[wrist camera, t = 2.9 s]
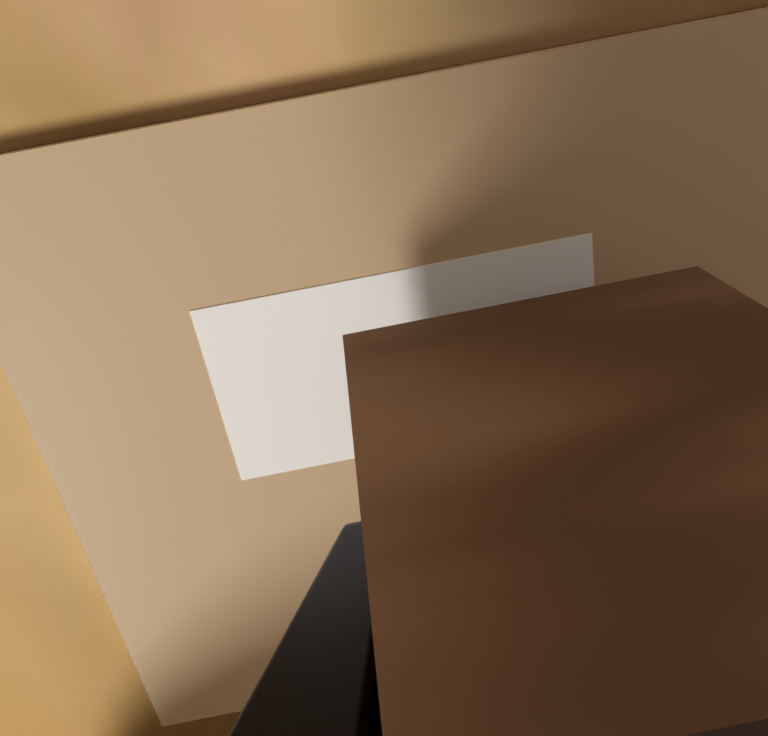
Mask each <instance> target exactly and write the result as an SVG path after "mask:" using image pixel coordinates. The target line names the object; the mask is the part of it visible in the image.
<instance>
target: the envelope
mask: <svg viewBox="0 0 768 736" xmlns="http://www.w3.org/2000/svg"><path fill="white" fill-rule="evenodd" d="M695 266H698V267H700V268H702V269H703V270H705V271H707V272H708V273H710V274H712V275H713V276H715V277H717V278H718V279H720V280H721V281H723V282H725V283H726V284H728V285H730V286H731V287H733V288H735V289H736V290H738V291H740V292H741V293H743V294H745V295H746V296H748V297H750V298H751V299H753V300H755V301H756V302H758V303H760V304H761V305H763V306H765V307H766V308H768V7H764V8H759V9H754V10H748V11H743V12H738V13H733V14H728V15H722V16H717V17H712V18H707V19H701V20H696V21H691V22H686V23H680V24H675V25H670V26H665V27H660V28H654V29H649V30H644V31H639V32H633V33H628V34H623V35H618V36H612V37H607V38H602V39H597V40H592V41H586V42H581V43H576V44H571V45H565V46H560V47H555V48H550V49H544V50H539V51H534V52H529V53H524V54H518V55H513V56H508V57H503V58H497V59H492V60H487V61H482V62H476V63H471V64H466V65H461V66H456V67H450V68H445V69H440V70H435V71H429V72H424V73H419V74H414V75H408V76H403V77H398V78H393V79H388V80H382V81H377V82H372V83H367V84H361V85H356V86H351V87H346V88H340V89H335V90H330V91H325V92H320V93H314V94H309V95H304V96H299V97H293V98H288V99H283V100H278V101H272V102H267V103H262V104H257V105H252V106H246V107H241V108H236V109H231V110H225V111H220V112H215V113H210V114H204V115H199V116H194V117H189V118H184V119H178V120H173V121H168V122H163V123H157V124H152V125H147V126H142V127H137V128H131V129H126V130H121V131H116V132H110V133H105V134H100V135H95V136H89V137H84V138H79V139H74V140H69V141H63V142H58V143H53V144H48V145H42V146H37V147H32V148H27V149H21V150H16V151H11V152H6V153H1V154H0V363H1V365H2V367H3V370H4V372H5V374H6V377H7V379H8V381H9V383H10V386H11V388H12V390H13V392H14V395H15V397H16V399H17V401H18V404H19V406H20V408H21V410H22V413H23V415H24V417H25V419H26V422H27V424H28V426H29V428H30V431H31V433H32V435H33V437H34V440H35V442H36V444H37V446H38V449H39V451H40V453H41V455H42V458H43V460H44V462H45V464H46V467H47V469H48V471H49V473H50V476H51V478H52V480H53V482H54V485H55V487H56V489H57V492H58V494H59V496H60V498H61V501H62V503H63V505H64V507H65V510H66V512H67V514H68V516H69V519H70V521H71V523H72V525H73V528H74V530H75V532H76V534H77V537H78V539H79V541H80V543H81V546H82V548H83V550H84V552H85V555H86V557H87V559H88V561H89V564H90V566H91V568H92V570H93V573H94V575H95V577H96V579H97V582H98V584H99V586H100V588H101V591H102V593H103V595H104V597H105V600H106V602H107V604H108V607H109V609H110V611H111V613H112V616H113V618H114V620H115V622H116V625H117V627H118V629H119V631H120V634H121V636H122V638H123V640H124V643H125V645H126V647H127V649H128V652H129V654H130V656H131V658H132V661H133V663H134V665H135V667H136V670H137V672H138V674H139V676H140V679H141V681H142V683H143V685H144V688H145V690H146V692H147V694H148V697H149V699H150V701H151V703H152V706H153V708H154V710H155V712H156V715H157V717H158V719H159V722H160V724H161V726H162V727H164V726H169V725H174V724H179V723H184V722H189V721H194V720H199V719H204V718H209V717H214V716H219V715H224V714H229V713H234V712H239V711H242V709H243V708H244V706H245V704H246V702H247V700H248V699H249V697H250V695H251V693H252V691H253V689H254V688H255V686H256V684H257V682H258V680H259V679H260V677H261V675H262V673H263V671H264V669H265V668H266V666H267V664H268V662H269V660H270V659H271V657H272V655H273V653H274V651H275V650H276V648H277V646H278V644H279V642H280V640H281V639H282V637H283V635H284V633H285V631H286V630H287V628H288V626H289V624H290V622H291V620H292V619H293V617H294V615H295V613H296V611H297V610H298V608H299V606H300V604H301V602H302V600H303V599H304V597H305V595H306V593H307V591H308V590H309V588H310V586H311V584H312V582H313V580H314V579H315V577H316V575H317V573H318V571H319V570H320V568H321V566H322V564H323V562H324V560H325V559H326V557H327V555H328V553H329V551H330V550H331V548H332V546H333V544H334V542H335V540H336V539H337V537H338V535H339V533H340V531H341V530H342V528H343V527H344V526H345V525H346V524H348V523H353V522H358V521H361V515H360V505H359V495H358V485H357V475H356V465H355V455H354V445H353V435H352V425H351V415H350V405H349V395H348V385H347V375H346V365H345V355H344V345H343V335H345V334H350V333H355V332H360V331H366V330H371V329H376V328H381V327H386V326H391V325H396V324H402V323H407V322H412V321H417V320H422V319H427V318H433V317H438V316H443V315H448V314H453V313H458V312H463V311H469V310H474V309H479V308H484V307H489V306H494V305H499V304H505V303H510V302H515V301H520V300H525V299H530V298H535V297H541V296H546V295H551V294H556V293H561V292H566V291H571V290H577V289H582V288H587V287H592V286H597V285H602V284H608V283H613V282H618V281H623V280H628V279H633V278H638V277H644V276H649V275H654V274H659V273H664V272H669V271H674V270H680V269H685V268H690V267H695Z"/></svg>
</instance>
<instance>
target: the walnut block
mask: <svg viewBox="0 0 768 736" xmlns="http://www.w3.org/2000/svg"><path fill="white" fill-rule="evenodd" d="M343 345H344V355H345V365H346V375H347V385H348V395H349V405H350V415H351V425H352V435H353V445H354V455H355V465H356V475H357V485H358V495H359V505H360V515H361V525H362V535H363V545H364V555H365V565H366V575H367V585H368V595H369V605H370V615H371V625H372V635H373V645H374V655H375V665H376V675H377V685H378V695H379V705H380V715H381V725H382V735H383V736H768V308H766V307H765V306H763V305H761V304H760V303H758V302H756V301H755V300H753V299H751V298H750V297H748V296H746V295H745V294H743V293H741V292H740V291H738V290H736V289H735V288H733V287H731V286H730V285H728V284H726V283H725V282H723V281H721V280H720V279H718V278H717V277H715V276H713V275H712V274H710V273H708V272H707V271H705V270H703V269H702V268H700V267H698V266H695V267H690V268H685V269H680V270H674V271H669V272H664V273H659V274H654V275H649V276H644V277H638V278H633V279H628V280H623V281H618V282H613V283H608V284H602V285H597V286H592V287H587V288H582V289H577V290H571V291H566V292H561V293H556V294H551V295H546V296H541V297H535V298H530V299H525V300H520V301H515V302H510V303H505V304H499V305H494V306H489V307H484V308H479V309H474V310H469V311H463V312H458V313H453V314H448V315H443V316H438V317H433V318H427V319H422V320H417V321H412V322H407V323H402V324H396V325H391V326H386V327H381V328H376V329H371V330H366V331H360V332H355V333H350V334H345V335H343Z"/></svg>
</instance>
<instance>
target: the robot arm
mask: <svg viewBox="0 0 768 736" xmlns="http://www.w3.org/2000/svg"><path fill="white" fill-rule="evenodd" d="M228 736H383V735H382V725H381V715H380V705H379V695H378V685H377V675H376V665H375V655H374V645H373V635H372V625H371V615H370V605H369V595H368V585H367V575H366V565H365V555H364V545H363V535H362V525H361V521H358V522H353V523H348V524H346V525H345V526H344V527H343V528H342V530H341V531H340V533H339V535H338V537H337V539H336V540H335V542H334V544H333V546H332V548H331V550H330V551H329V553H328V555H327V557H326V559H325V560H324V562H323V564H322V566H321V568H320V570H319V571H318V573H317V575H316V577H315V579H314V580H313V582H312V584H311V586H310V588H309V590H308V591H307V593H306V595H305V597H304V599H303V600H302V602H301V604H300V606H299V608H298V610H297V611H296V613H295V615H294V617H293V619H292V620H291V622H290V624H289V626H288V628H287V630H286V631H285V633H284V635H283V637H282V639H281V640H280V642H279V644H278V646H277V648H276V650H275V651H274V653H273V655H272V657H271V659H270V660H269V662H268V664H267V666H266V668H265V669H264V671H263V673H262V675H261V677H260V679H259V680H258V682H257V684H256V686H255V688H254V689H253V691H252V693H251V695H250V697H249V699H248V700H247V702H246V704H245V706H244V708H243V709H242V711H241V713H240V715H239V717H238V719H237V720H236V722H235V724H234V726H233V728H232V729H231V731H230V733H229V735H228Z"/></svg>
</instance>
